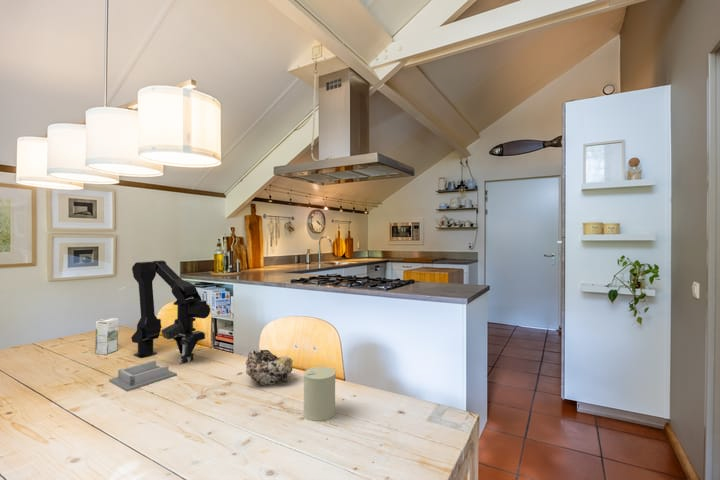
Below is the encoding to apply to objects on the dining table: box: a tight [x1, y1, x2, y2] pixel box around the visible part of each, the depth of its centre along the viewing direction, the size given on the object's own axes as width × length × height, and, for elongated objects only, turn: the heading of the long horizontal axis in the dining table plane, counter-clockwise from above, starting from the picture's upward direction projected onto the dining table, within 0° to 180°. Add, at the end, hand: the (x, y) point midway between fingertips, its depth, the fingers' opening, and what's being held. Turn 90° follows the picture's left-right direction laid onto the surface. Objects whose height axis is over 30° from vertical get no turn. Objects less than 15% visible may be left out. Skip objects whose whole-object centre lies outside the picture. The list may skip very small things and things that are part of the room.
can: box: [302, 366, 337, 422], centre depth 97 cm, size 9×9×12 cm
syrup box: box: [94, 317, 120, 355], centre depth 147 cm, size 6×6×14 cm
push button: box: [177, 336, 194, 364], centre depth 136 cm, size 7×5×10 cm
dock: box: [108, 359, 178, 392], centre depth 120 cm, size 14×16×4 cm
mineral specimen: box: [245, 348, 293, 386], centre depth 118 cm, size 16×18×10 cm
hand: (185, 354), depth 136 cm, fingers open, 5 cm apart
